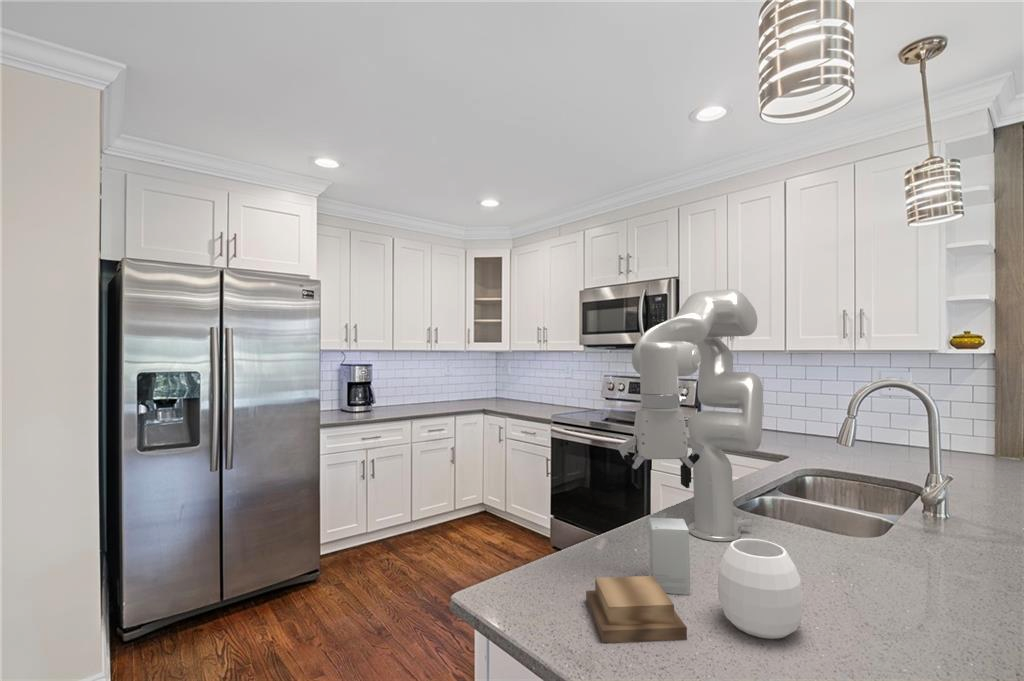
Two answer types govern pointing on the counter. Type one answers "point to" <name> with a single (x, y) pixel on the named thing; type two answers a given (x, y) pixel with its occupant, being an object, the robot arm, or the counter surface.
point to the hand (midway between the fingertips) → (661, 486)
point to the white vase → (760, 588)
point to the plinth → (634, 629)
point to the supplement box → (670, 554)
